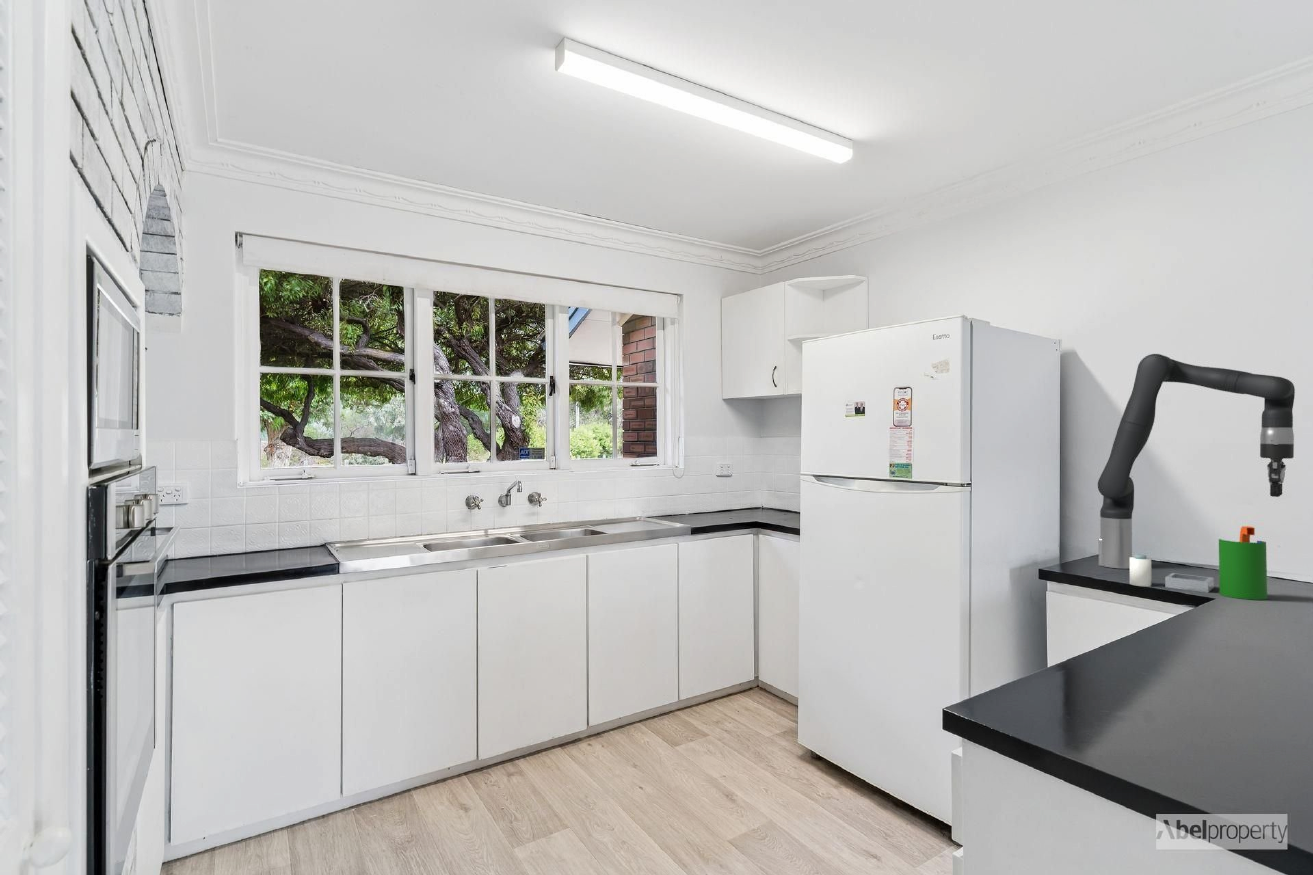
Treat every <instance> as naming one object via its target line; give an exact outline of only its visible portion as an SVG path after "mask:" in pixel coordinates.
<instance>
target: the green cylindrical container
mask: <svg viewBox="0 0 1313 875" xmlns="http://www.w3.org/2000/svg"><path fill="white" fill-rule="evenodd" d="M1255 529H1256V528H1255V527H1254V526H1248V525H1247V526H1246V525H1245V526H1243V525H1242V526H1241V528H1240V531H1239V541H1235V540H1234V541H1233V540H1232V541H1231V540H1226V539H1225V540H1224V539H1221V538H1218V570H1219V571H1218V573H1219V574H1218V575H1219V577H1218V578H1219V580H1218V581H1219V583H1218V585H1219V594H1220V595H1222V596H1225V597H1230V598H1235V599H1243V600H1254V601H1255V600H1257V601H1261V600H1264V601H1265V600H1268V574H1267V573H1268V572H1267V571H1268V570H1267V569H1268V566H1267V565H1268V564H1267V560H1268V559H1267V542H1266V541H1262V540H1257V541H1256V542H1250V541H1251V540H1250V539H1251V536H1255V533H1256V532H1255Z"/></svg>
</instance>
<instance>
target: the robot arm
mask: <svg viewBox="0 0 1313 875" xmlns="http://www.w3.org/2000/svg"><path fill="white" fill-rule="evenodd" d="M1163 383H1179V384H1180V383H1181V384H1188V385H1193V386H1194V385H1195V386H1198V387H1203V388H1208V389H1212V390H1217V391H1220V392H1226V393H1233V394H1237V395H1239V394H1240V395H1249V396H1253V397H1256V398H1257V397H1258V398H1262V399H1264V403H1263V404H1264V405H1263V406H1264V408H1263V410H1262V413H1261V432H1260V437H1259V441H1260V442H1259V443H1260V444H1259V448H1260V449H1259V457H1260V458H1262V459H1270V461H1269V463H1268V464H1267V465H1266V467H1267V477H1268V483H1269V495H1270V497H1273V498H1274V497H1275V498H1279V497H1281V496H1282V495H1283V483H1284V480H1285V477H1286V476H1285V475H1286V472H1285V471H1286V468H1287V465H1286V464H1285V462H1284V461H1283V460H1284V459H1289V460H1290V459H1293V458H1294V456H1295V454H1294V453H1295V452H1294V451H1295V450H1294V449H1295V447H1294V446H1295V436H1294V435H1295V434H1294V433H1295V432H1294V424H1293V422H1294V416H1293V415H1294V414H1293V413H1294V412H1293V409H1294V408H1293V407H1294V403H1295V402H1294V401H1295V394H1296V392H1295V391H1296V390H1295V389H1296V388H1295V385H1294V383H1293V382H1292V381H1291V380H1289V379H1288V378H1285V377H1281V376H1278V375H1277V376H1275V375H1270V374H1269V375H1266V374H1260V373H1259V374H1257V373H1252V372H1247V371H1242V370H1236V369H1231V368H1223V367H1211V366H1201V365H1195V364H1189V363H1186V362H1181V361H1179V360H1175V359H1173V358H1170V357H1168V356H1166V355H1163V354H1160V353H1151V354H1148V355H1146V356H1145V357H1143V358H1142V359H1141V360H1140V361H1139V363H1138V365H1137V369H1136V374H1135V379H1134V383H1133V387H1132V391H1131V393H1130V396H1129V398H1128V401H1127V404H1126V406H1125V408H1124V412H1123V414H1122V417H1121V419H1120V422H1119V425H1118V428H1117V431H1116V434H1115V438H1114V440H1113V444H1112V447H1111V451H1110V454H1109V458H1108V460H1107V462H1106V464H1105V466H1104V468H1103V470H1102V473H1101V474H1100V476H1099V479H1098V482H1097V489H1098V492H1099V493H1100V494H1101V495H1102V496H1103V498H1102V499H1103V500H1102V506H1101V508H1100V510H1099V512H1100V513H1099V518H1100V520H1099V522H1100V525H1099V527H1100V530H1099V532H1100V533H1099V534H1100V538H1098V566H1101V567H1104V568H1105V567H1106V568H1114V569H1124V570H1126V569H1130V557H1133V513H1134V512H1133V511H1134V508H1135V484H1134V481H1133V479H1132V477H1131V476H1130V475H1131V472H1132V471H1131V470H1132V468H1133V466H1134V463H1135V461H1136V459H1137V458H1138V457H1139V455H1140V453H1141V452H1142V450H1143V449H1144V447H1145V445H1146V444H1147V443H1148V440H1149V438H1150V436H1151V432H1152V430H1153V426H1154V423H1155V418H1156V407H1157V406H1156V403H1157V398H1158V394H1159V393H1160V389H1161V388H1162V385H1163Z"/></svg>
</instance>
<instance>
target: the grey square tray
mask: <svg viewBox="0 0 1313 875" xmlns="http://www.w3.org/2000/svg"><path fill="white" fill-rule="evenodd" d="M1164 578H1165V580H1164V583H1165V586H1164V587H1165V588H1169V589H1177V590H1185V591H1193V592H1201V593H1209V592H1211V591H1212V590H1213V589H1214V587H1215V586H1214V585H1215V583H1214V582H1215V581H1214V577H1211V576H1201V575H1193V574H1185V573H1177V572H1171V573H1170V574H1168V575H1166V576H1165V577H1164Z"/></svg>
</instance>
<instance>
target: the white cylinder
mask: <svg viewBox="0 0 1313 875" xmlns="http://www.w3.org/2000/svg"><path fill="white" fill-rule="evenodd" d="M1133 555H1134V556H1132V557H1130V568H1129V585H1132V586H1137V587H1152V559H1151V558H1149V557H1147V555H1146V554H1133Z"/></svg>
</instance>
